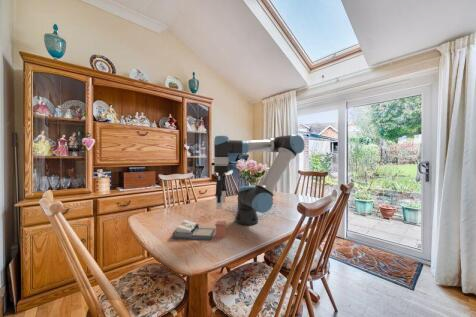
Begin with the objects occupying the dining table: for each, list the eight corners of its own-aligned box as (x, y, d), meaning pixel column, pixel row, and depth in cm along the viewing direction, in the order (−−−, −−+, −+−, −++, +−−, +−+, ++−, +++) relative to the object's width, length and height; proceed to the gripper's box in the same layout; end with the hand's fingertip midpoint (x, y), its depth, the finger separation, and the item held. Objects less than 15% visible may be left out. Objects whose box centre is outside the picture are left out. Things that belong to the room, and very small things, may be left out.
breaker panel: (215, 230, 115) (215, 224, 115) (210, 240, 102) (210, 234, 102) (181, 229, 116) (181, 223, 116) (172, 238, 103) (172, 232, 103)
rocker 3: (194, 227, 111) (193, 222, 111) (192, 229, 108) (191, 224, 108) (181, 229, 111) (181, 224, 111) (179, 231, 108) (179, 226, 108)
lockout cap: (226, 234, 110) (226, 221, 110) (224, 237, 105) (225, 224, 105) (217, 233, 110) (217, 220, 110) (215, 237, 105) (215, 224, 105)
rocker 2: (195, 227, 115) (196, 223, 115) (193, 229, 112) (194, 224, 112) (183, 224, 115) (184, 219, 115) (181, 225, 112) (182, 221, 112)
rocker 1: (190, 232, 107) (191, 228, 107) (189, 235, 104) (190, 230, 104) (178, 229, 107) (179, 224, 107) (176, 231, 104) (177, 226, 104)
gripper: (218, 163, 119) (218, 200, 119) (209, 166, 95) (209, 211, 95) (230, 163, 118) (230, 200, 119) (225, 166, 94) (225, 212, 95)
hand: (221, 205), depth 107 cm, fingers open, 12 cm apart
